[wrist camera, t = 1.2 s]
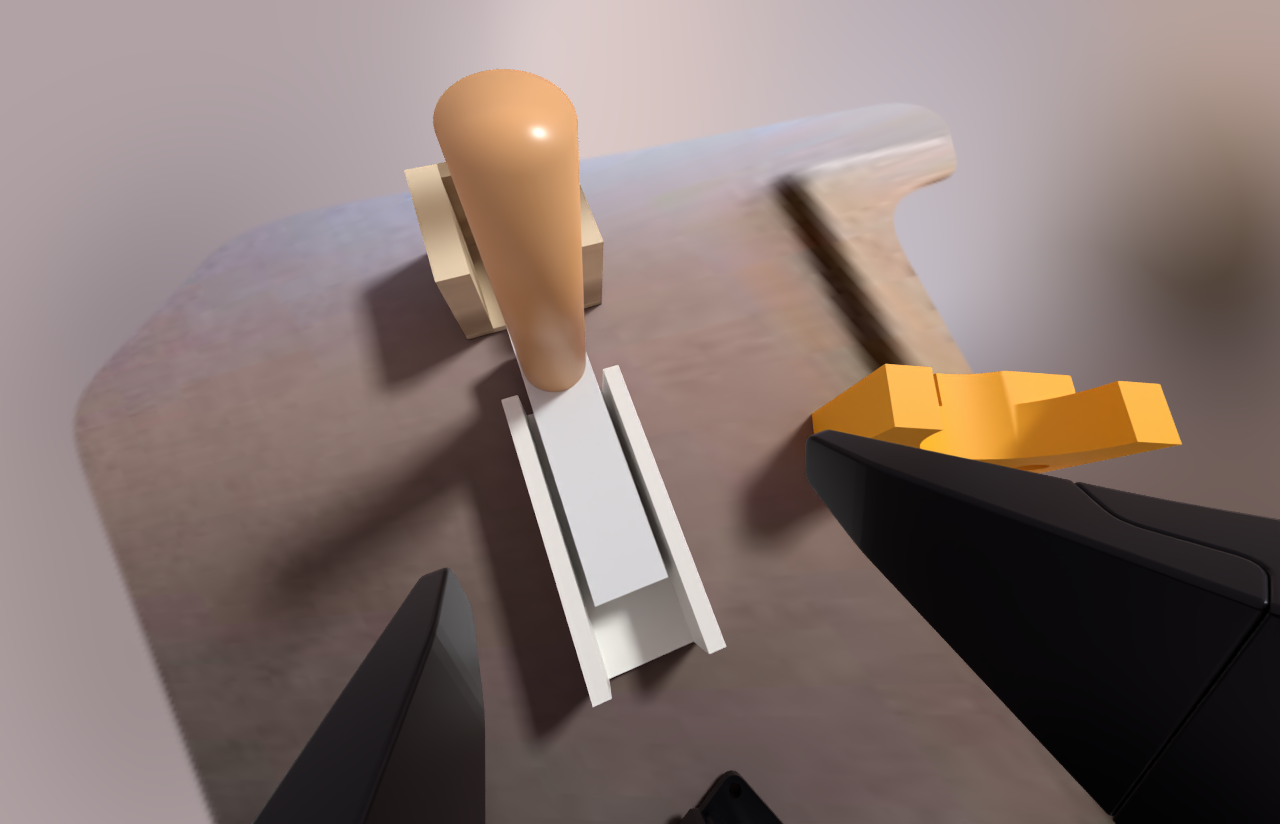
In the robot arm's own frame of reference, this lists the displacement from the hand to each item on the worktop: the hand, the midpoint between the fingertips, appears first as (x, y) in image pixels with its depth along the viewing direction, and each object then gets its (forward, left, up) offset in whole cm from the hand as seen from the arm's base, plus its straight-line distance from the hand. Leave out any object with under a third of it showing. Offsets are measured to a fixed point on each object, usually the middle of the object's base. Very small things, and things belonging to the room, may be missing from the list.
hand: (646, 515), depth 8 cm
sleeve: (+1, 0, -14) cm, 14 cm away
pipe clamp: (-7, -16, -14) cm, 22 cm away
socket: (+14, -6, -14) cm, 20 cm away
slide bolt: (+4, -2, -13) cm, 14 cm away
